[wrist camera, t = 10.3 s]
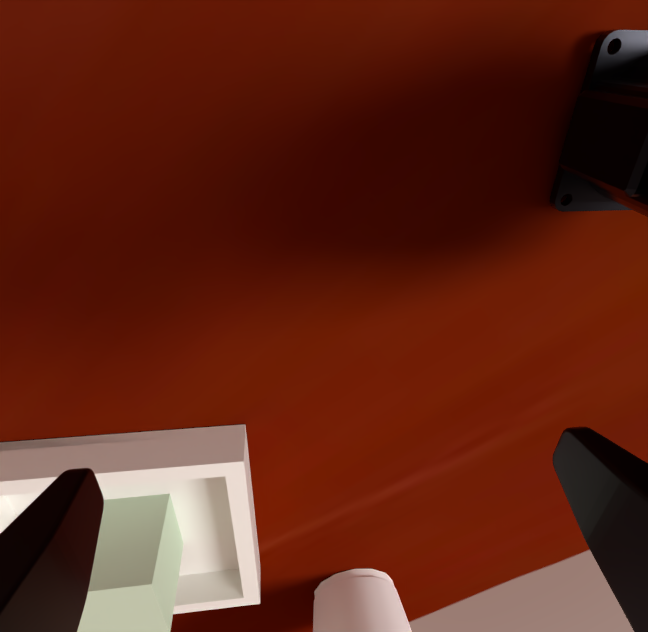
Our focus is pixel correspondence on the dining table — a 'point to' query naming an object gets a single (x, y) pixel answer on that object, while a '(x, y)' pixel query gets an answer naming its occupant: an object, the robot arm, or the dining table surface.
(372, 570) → the foam cup
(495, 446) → the dining table surface
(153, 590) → the cube
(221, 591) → the tray
